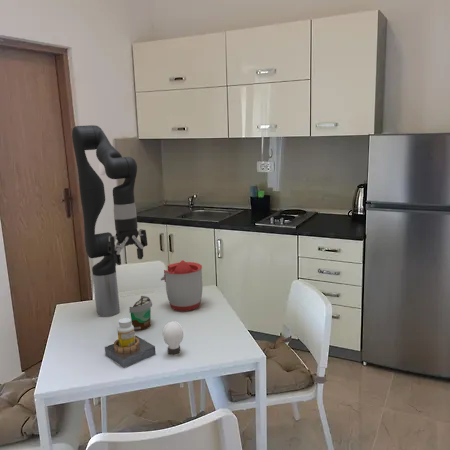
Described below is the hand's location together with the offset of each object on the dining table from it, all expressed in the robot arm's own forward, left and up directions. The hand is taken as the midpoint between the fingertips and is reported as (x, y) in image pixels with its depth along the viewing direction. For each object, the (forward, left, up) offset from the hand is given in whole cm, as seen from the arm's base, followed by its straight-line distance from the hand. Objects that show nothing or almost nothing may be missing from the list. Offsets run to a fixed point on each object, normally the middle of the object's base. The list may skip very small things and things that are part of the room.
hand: (129, 261), depth 164 cm
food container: (-5, +7, -28) cm, 30 cm away
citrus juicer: (-10, +29, -28) cm, 42 cm away
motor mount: (+11, -9, -28) cm, 31 cm away
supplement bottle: (+11, -10, -25) cm, 29 cm away
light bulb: (+20, +2, -28) cm, 35 cm away
